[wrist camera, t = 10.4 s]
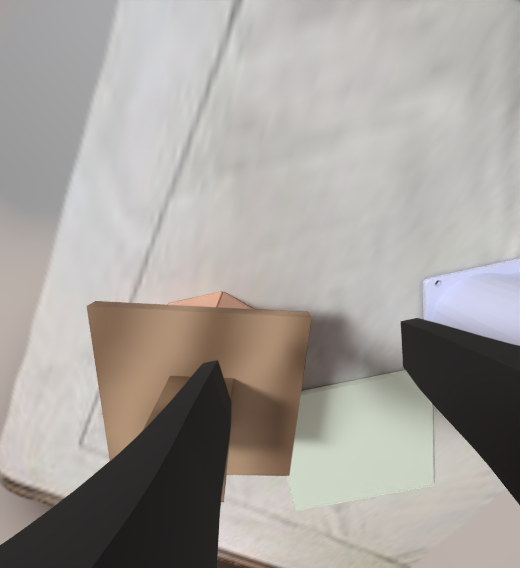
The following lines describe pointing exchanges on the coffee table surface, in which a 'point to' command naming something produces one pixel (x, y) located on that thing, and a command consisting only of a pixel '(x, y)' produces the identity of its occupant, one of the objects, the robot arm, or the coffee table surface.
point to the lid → (189, 357)
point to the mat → (361, 441)
